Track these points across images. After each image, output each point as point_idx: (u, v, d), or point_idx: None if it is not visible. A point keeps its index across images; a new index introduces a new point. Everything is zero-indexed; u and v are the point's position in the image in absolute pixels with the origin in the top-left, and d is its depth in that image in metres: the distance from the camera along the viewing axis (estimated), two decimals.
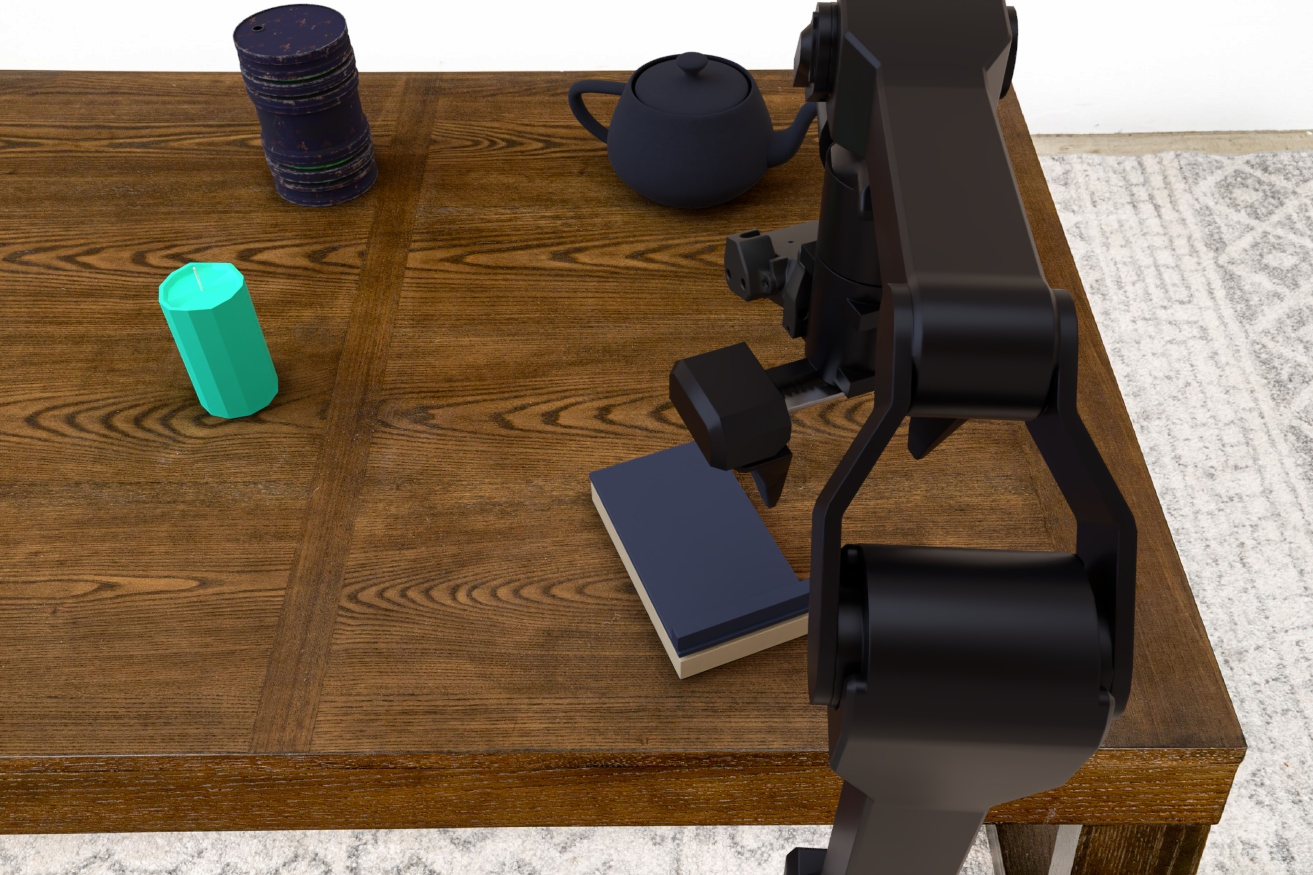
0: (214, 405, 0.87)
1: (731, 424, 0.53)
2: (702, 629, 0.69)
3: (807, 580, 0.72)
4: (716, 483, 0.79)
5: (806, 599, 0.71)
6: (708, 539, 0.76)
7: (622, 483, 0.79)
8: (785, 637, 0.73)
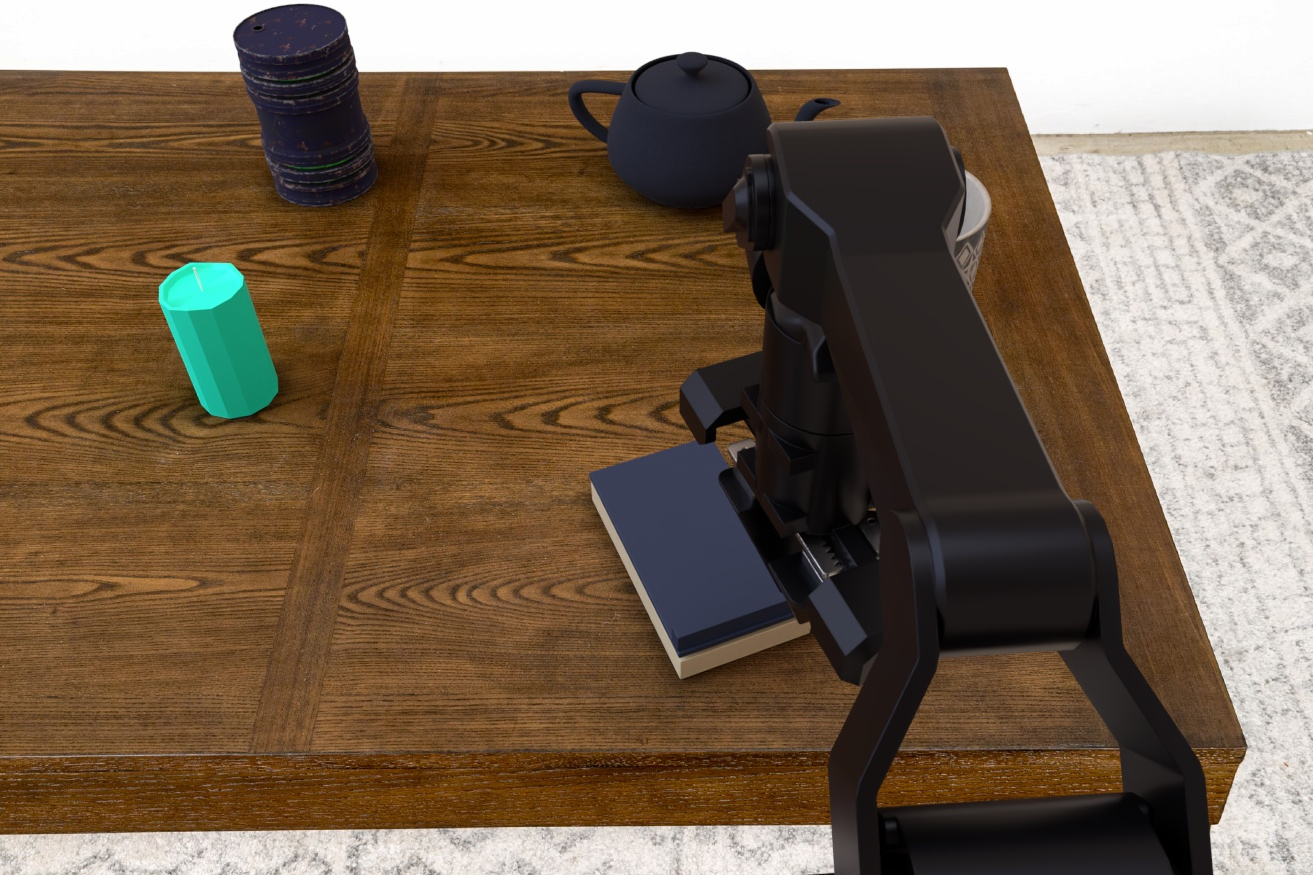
0: (214, 405, 0.87)
1: (693, 381, 0.59)
2: (702, 629, 0.69)
3: None
4: (716, 483, 0.79)
5: None
6: (708, 539, 0.76)
7: (622, 483, 0.79)
8: (785, 637, 0.73)
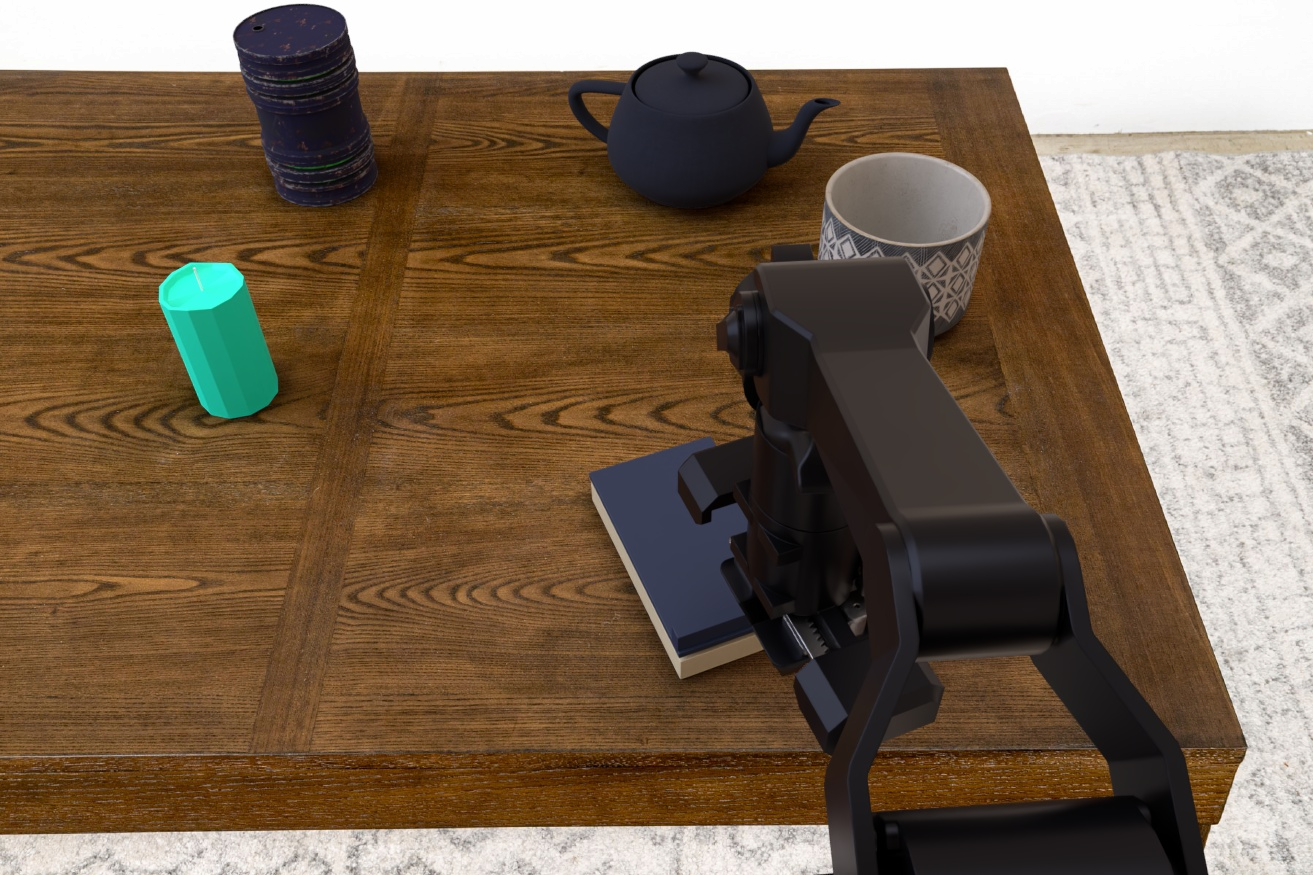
0: (214, 405, 0.87)
1: (690, 465, 0.63)
2: (702, 629, 0.69)
3: None
4: None
5: None
6: (708, 539, 0.76)
7: (622, 483, 0.79)
8: None
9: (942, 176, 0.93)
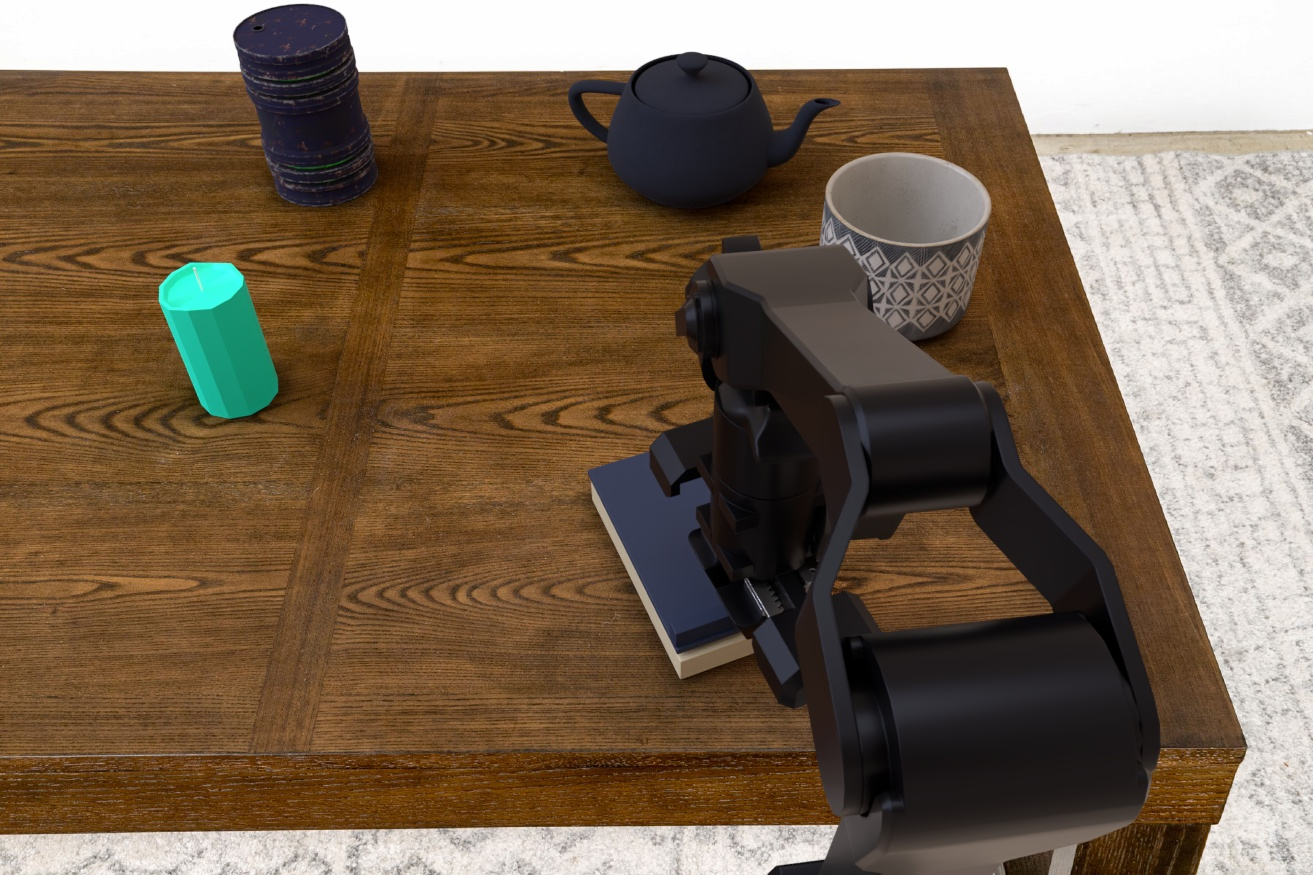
0: (214, 405, 0.87)
1: (661, 442, 0.68)
2: (700, 625, 0.69)
3: None
4: None
5: None
6: None
7: (620, 480, 0.79)
8: None
9: (942, 176, 0.93)
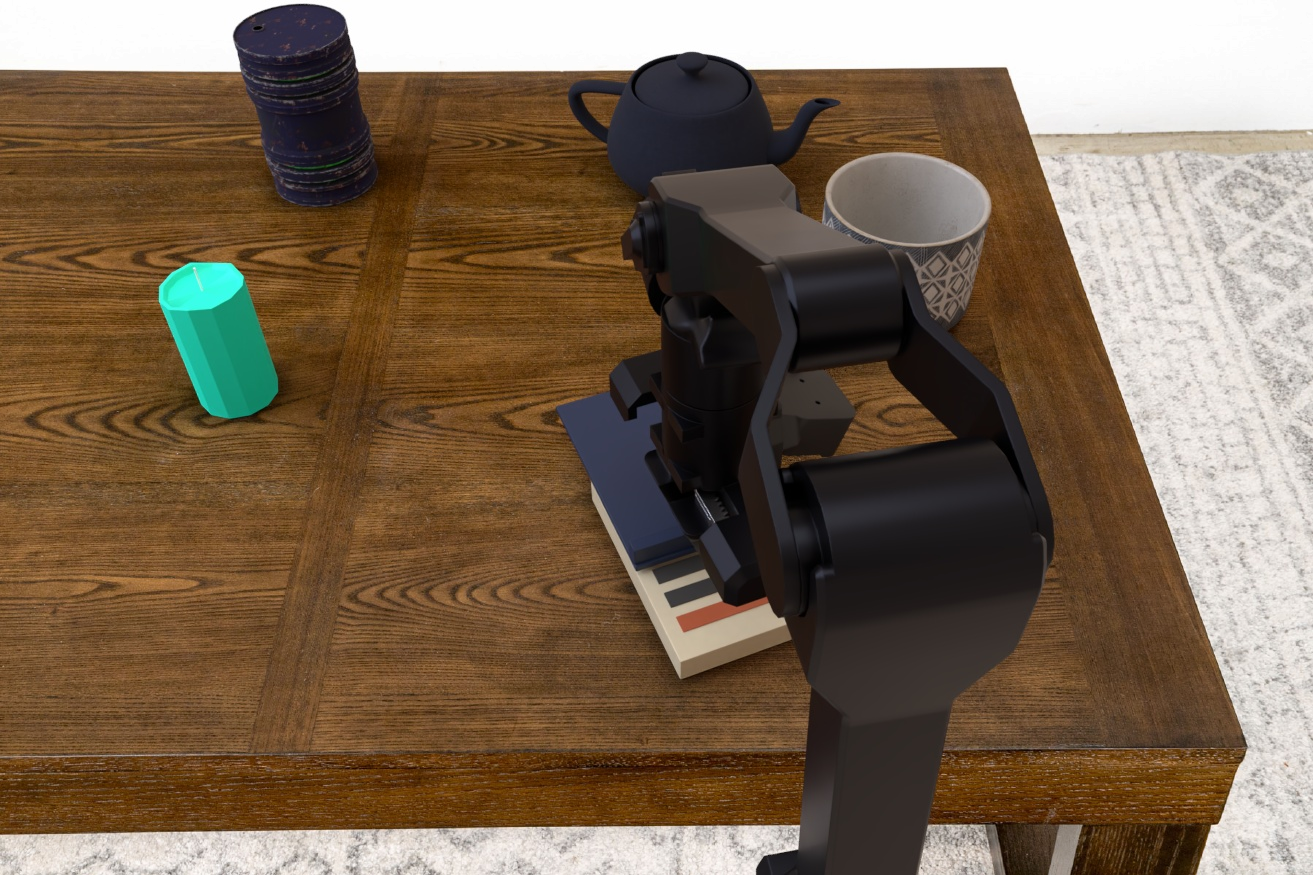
0: (214, 405, 0.87)
1: (619, 370, 0.72)
2: (657, 543, 0.74)
3: None
4: None
5: None
6: None
7: (587, 415, 0.84)
8: (785, 637, 0.73)
9: (942, 176, 0.93)
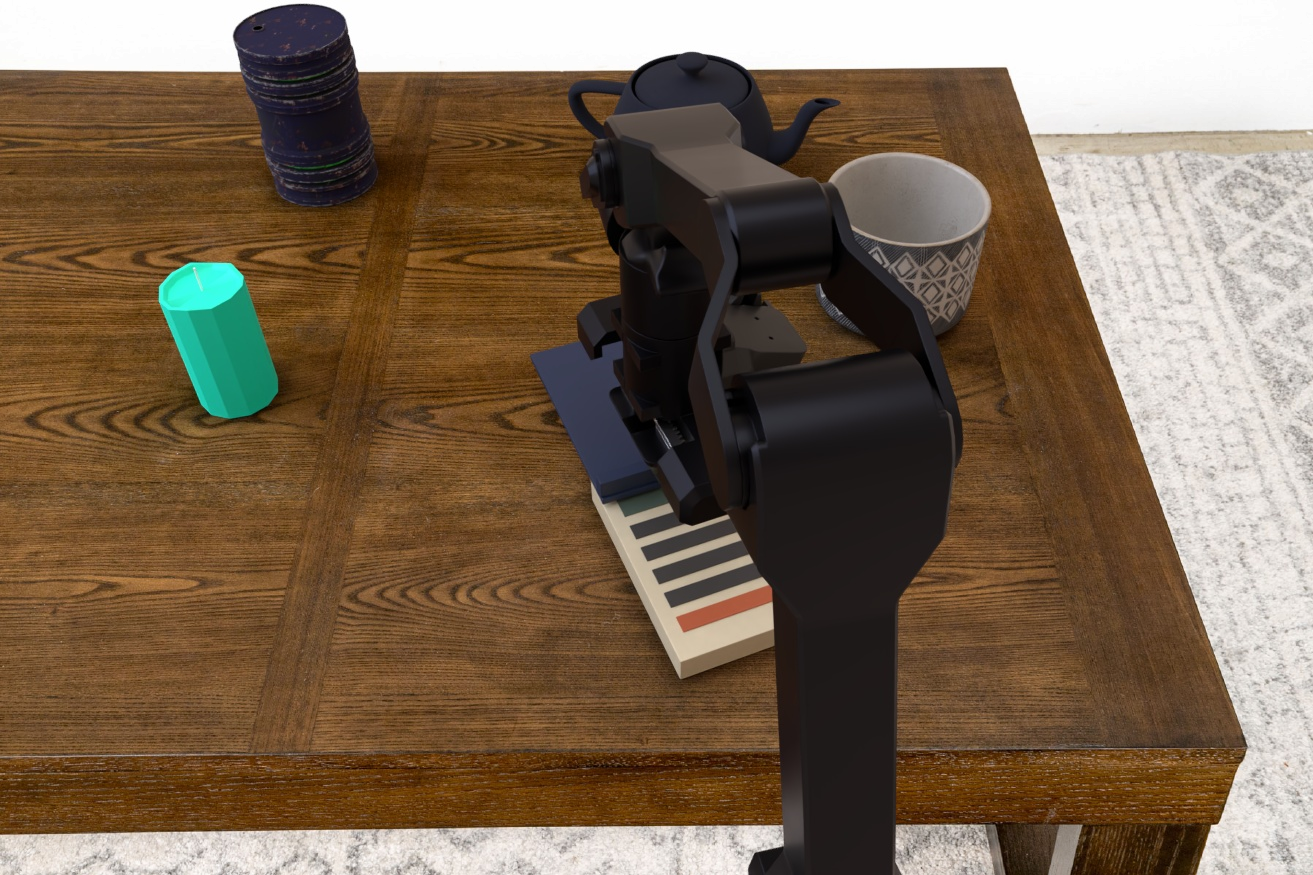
0: (214, 405, 0.87)
1: (586, 311, 0.76)
2: (622, 477, 0.78)
3: None
4: None
5: None
6: None
7: (559, 363, 0.88)
8: None
9: (942, 176, 0.93)
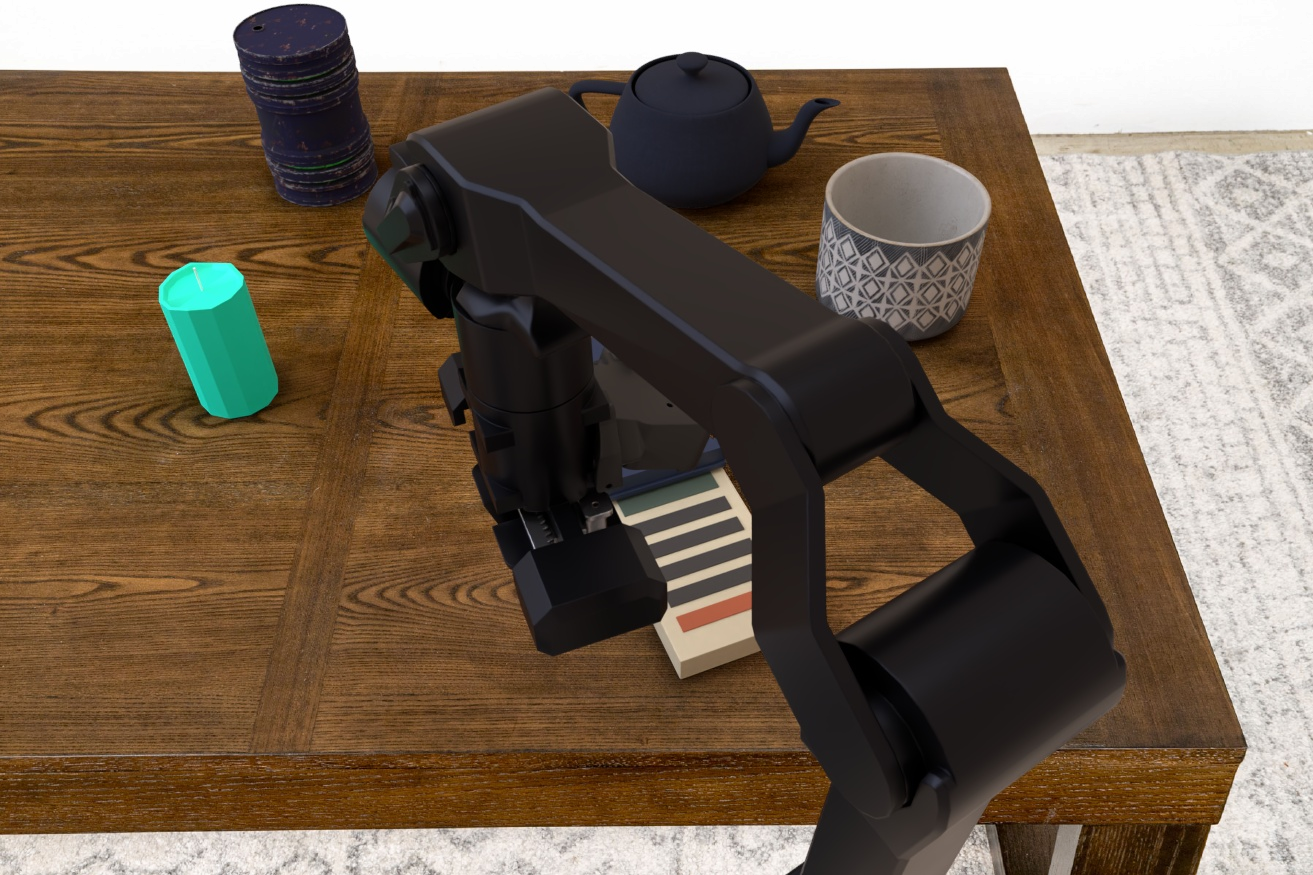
0: (214, 405, 0.87)
1: (448, 365, 0.60)
2: None
3: None
4: None
5: (717, 454, 0.80)
6: None
7: None
8: None
9: (942, 176, 0.93)
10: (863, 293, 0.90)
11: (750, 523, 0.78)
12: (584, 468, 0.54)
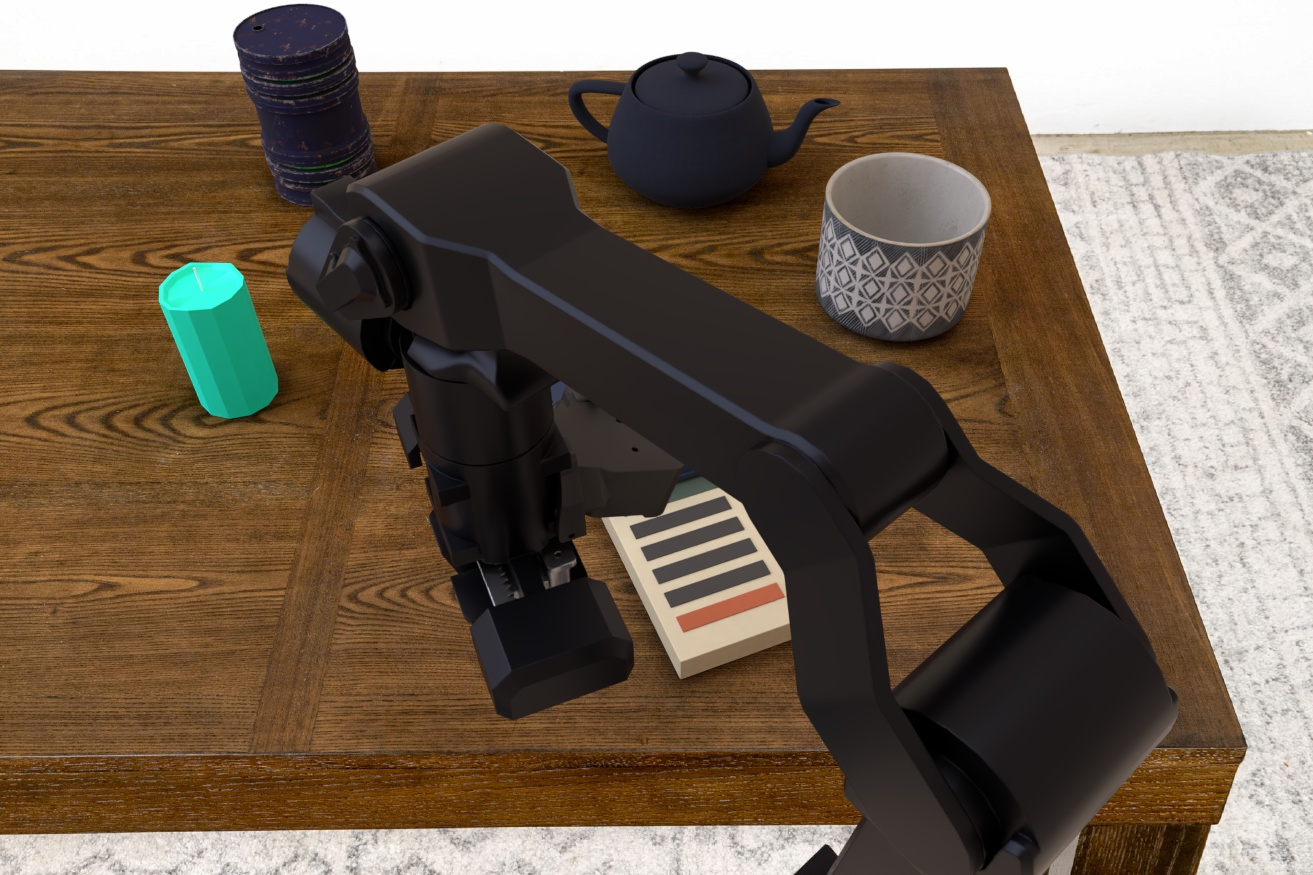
0: (214, 405, 0.87)
1: (403, 404, 0.58)
2: None
3: None
4: None
5: None
6: None
7: None
8: (785, 637, 0.73)
9: (942, 176, 0.93)
10: (863, 293, 0.90)
11: (750, 523, 0.78)
12: (545, 518, 0.51)
